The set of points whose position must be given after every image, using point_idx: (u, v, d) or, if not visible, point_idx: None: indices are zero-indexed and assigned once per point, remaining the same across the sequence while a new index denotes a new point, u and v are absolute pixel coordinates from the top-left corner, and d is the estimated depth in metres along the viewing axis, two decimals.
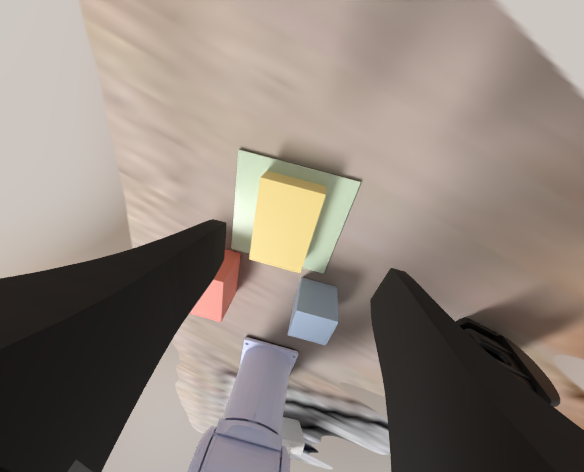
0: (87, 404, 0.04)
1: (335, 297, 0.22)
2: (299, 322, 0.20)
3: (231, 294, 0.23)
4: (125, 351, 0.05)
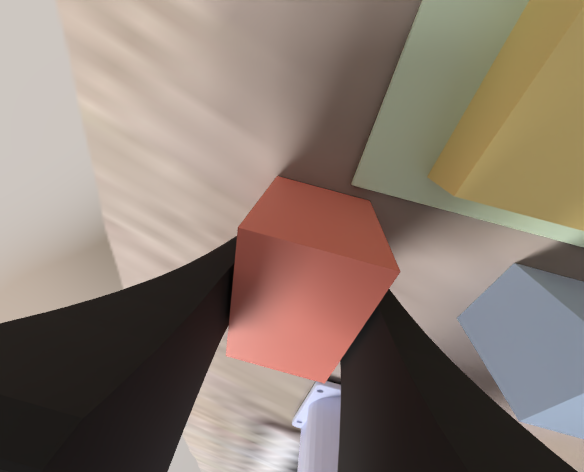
0: (161, 425, 0.04)
1: None
2: None
3: None
4: (189, 368, 0.05)
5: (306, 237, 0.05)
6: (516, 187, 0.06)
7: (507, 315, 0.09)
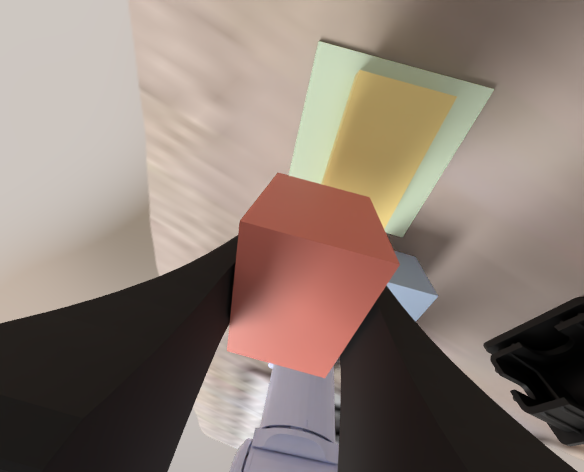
0: (161, 425, 0.04)
1: (419, 267, 0.17)
2: None
3: None
4: (189, 369, 0.05)
5: (307, 231, 0.05)
6: None
7: None
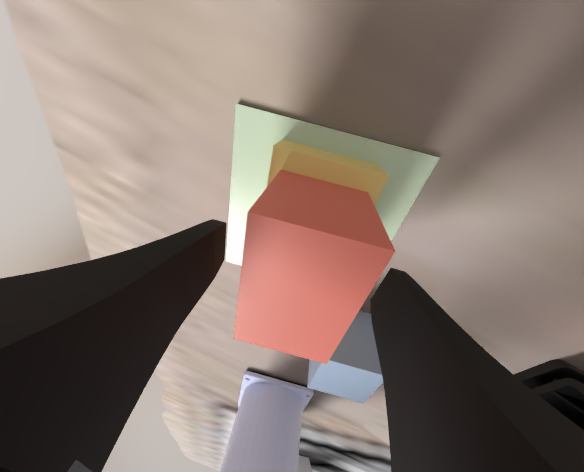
0: (87, 404, 0.04)
1: None
2: (326, 373, 0.13)
3: None
4: (125, 351, 0.05)
5: (310, 221, 0.06)
6: None
7: None
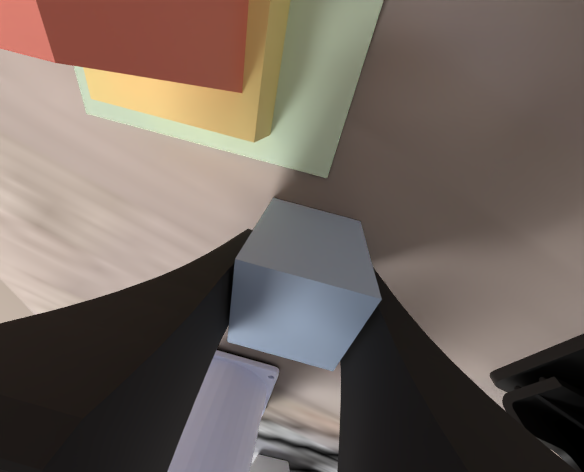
0: (161, 425, 0.04)
1: (358, 239, 0.08)
2: (250, 302, 0.06)
3: None
4: (189, 368, 0.05)
5: None
6: (130, 84, 0.06)
7: None
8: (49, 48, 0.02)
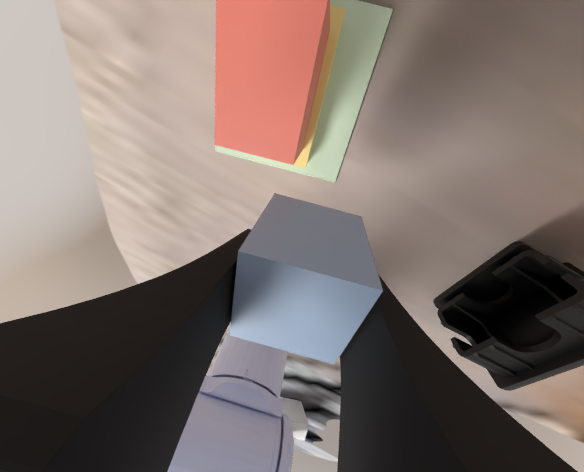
0: (161, 425, 0.04)
1: (359, 233, 0.08)
2: (253, 294, 0.06)
3: (305, 127, 0.12)
4: (189, 368, 0.05)
5: None
6: None
7: None
8: (292, 162, 0.10)
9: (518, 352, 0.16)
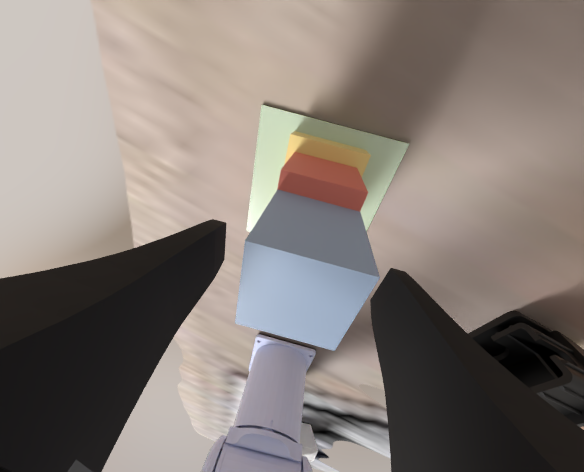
0: (87, 404, 0.04)
1: (358, 227, 0.08)
2: (258, 282, 0.07)
3: None
4: (125, 351, 0.05)
5: (317, 176, 0.10)
6: None
7: None
8: None
9: None
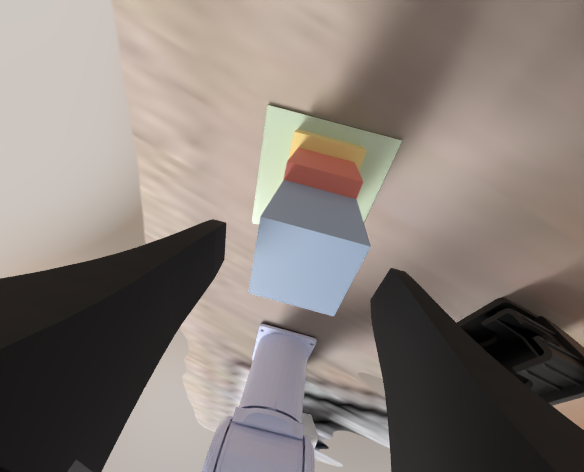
0: (87, 404, 0.04)
1: (354, 210, 0.10)
2: (269, 254, 0.08)
3: None
4: (125, 351, 0.05)
5: (319, 168, 0.11)
6: None
7: None
8: None
9: None
